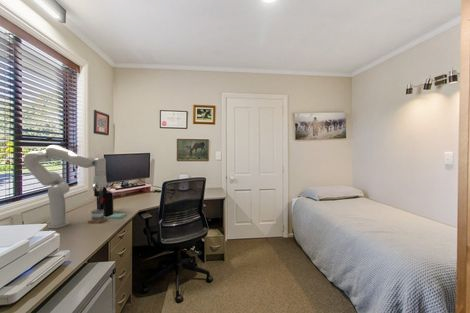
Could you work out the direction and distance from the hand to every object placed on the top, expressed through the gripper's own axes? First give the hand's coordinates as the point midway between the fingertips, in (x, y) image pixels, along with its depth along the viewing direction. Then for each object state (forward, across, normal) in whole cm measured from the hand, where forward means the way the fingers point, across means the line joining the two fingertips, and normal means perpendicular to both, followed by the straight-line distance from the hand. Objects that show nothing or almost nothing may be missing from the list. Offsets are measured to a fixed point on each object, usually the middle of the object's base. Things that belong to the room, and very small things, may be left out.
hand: (100, 194), depth 183 cm
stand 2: (+22, -14, +6) cm, 26 cm away
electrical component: (+22, -22, -11) cm, 33 cm away
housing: (+20, -2, -4) cm, 21 cm away
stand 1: (+22, -2, -4) cm, 23 cm away
